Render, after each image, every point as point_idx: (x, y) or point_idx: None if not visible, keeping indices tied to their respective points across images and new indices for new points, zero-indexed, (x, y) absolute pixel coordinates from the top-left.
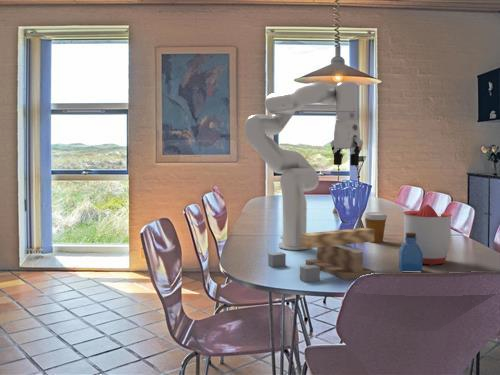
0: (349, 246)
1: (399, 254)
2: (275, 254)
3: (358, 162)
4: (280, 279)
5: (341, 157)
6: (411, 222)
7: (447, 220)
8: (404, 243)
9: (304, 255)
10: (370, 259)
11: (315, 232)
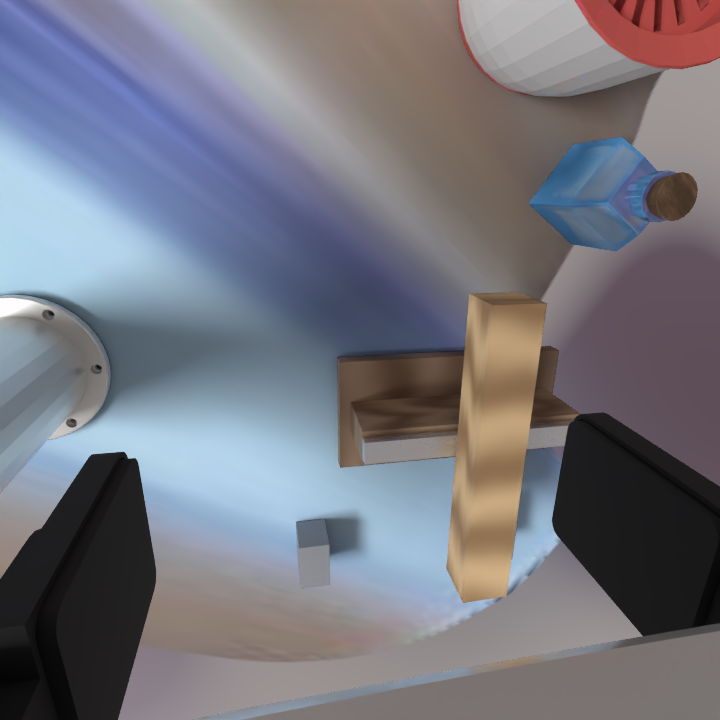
0: (534, 435)
1: (565, 212)
2: (323, 573)
3: (626, 430)
4: (444, 575)
5: (86, 554)
6: (637, 72)
7: None
8: (622, 214)
9: (211, 403)
10: (384, 206)
11: (470, 553)
